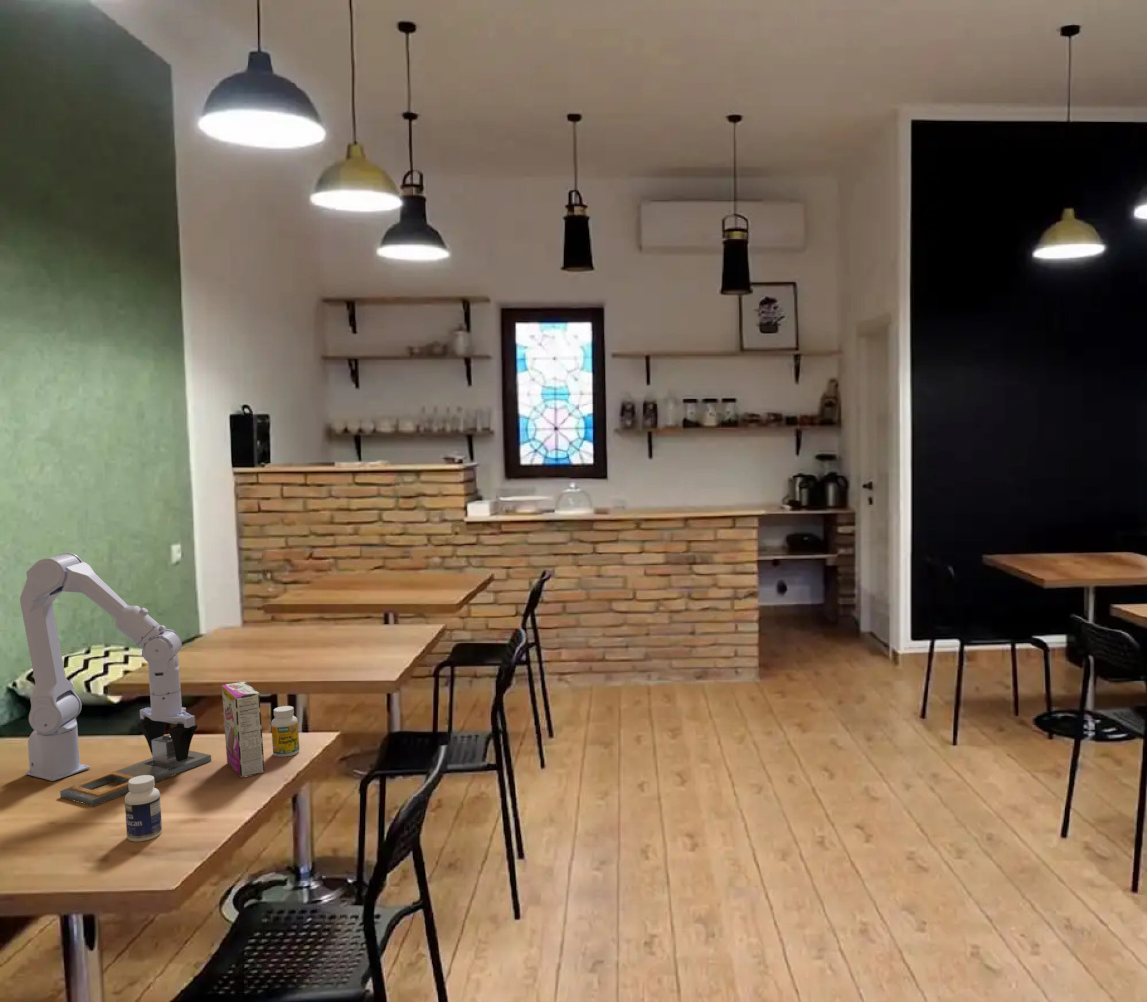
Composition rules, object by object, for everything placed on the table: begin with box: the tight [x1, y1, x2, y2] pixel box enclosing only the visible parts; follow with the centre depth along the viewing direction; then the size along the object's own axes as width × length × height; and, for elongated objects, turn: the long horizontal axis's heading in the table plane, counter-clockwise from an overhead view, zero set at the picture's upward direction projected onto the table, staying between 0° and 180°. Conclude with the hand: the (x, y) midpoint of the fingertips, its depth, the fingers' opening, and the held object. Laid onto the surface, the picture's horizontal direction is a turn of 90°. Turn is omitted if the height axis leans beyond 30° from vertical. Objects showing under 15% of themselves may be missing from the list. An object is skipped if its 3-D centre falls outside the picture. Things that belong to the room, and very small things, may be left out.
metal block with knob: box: [151, 733, 187, 769], centre depth 190 cm, size 4×4×6 cm
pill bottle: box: [124, 775, 163, 842], centre depth 157 cm, size 5×5×10 cm
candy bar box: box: [221, 681, 266, 778], centre depth 188 cm, size 11×5×16 cm, turn 34°
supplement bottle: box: [270, 705, 300, 758], centre depth 196 cm, size 5×5×10 cm
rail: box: [59, 749, 212, 807], centre depth 185 cm, size 10×26×2 cm, turn 151°
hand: (169, 757), depth 191 cm, fingers open, 7 cm apart
